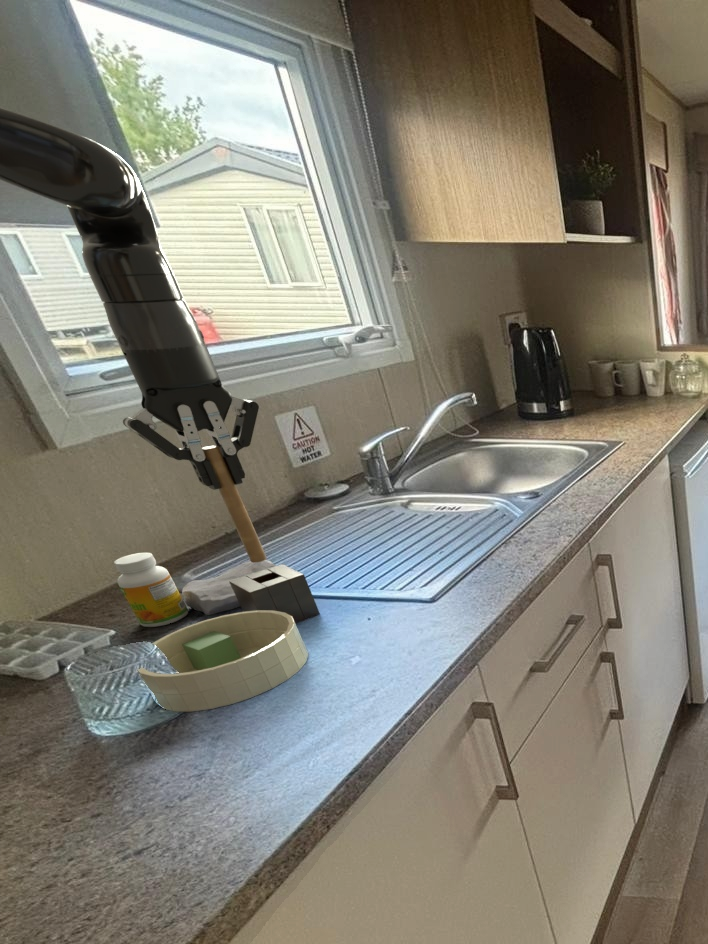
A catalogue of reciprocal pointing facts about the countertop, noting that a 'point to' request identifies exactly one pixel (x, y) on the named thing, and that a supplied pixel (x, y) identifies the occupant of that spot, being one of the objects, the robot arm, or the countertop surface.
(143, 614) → the supplement bottle
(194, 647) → the sage block
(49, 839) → the countertop surface
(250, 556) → the stirrer
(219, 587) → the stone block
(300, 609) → the holder
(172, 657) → the bowl
